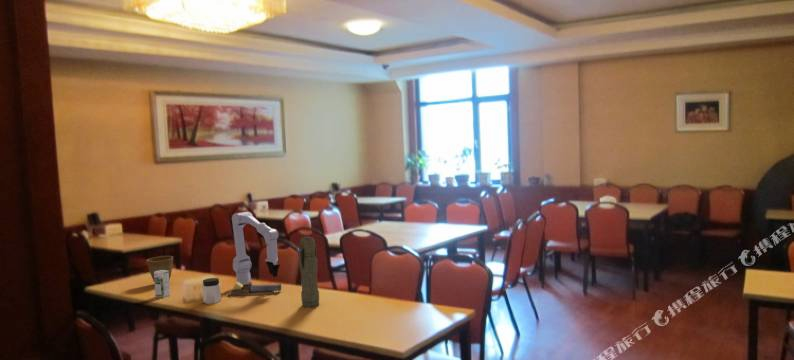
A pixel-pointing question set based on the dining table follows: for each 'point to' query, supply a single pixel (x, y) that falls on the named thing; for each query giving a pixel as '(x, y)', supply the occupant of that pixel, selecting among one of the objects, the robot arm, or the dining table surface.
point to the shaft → (264, 287)
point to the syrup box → (162, 283)
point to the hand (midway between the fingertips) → (273, 275)
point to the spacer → (237, 286)
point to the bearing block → (245, 291)
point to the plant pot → (160, 264)
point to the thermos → (308, 272)
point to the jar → (211, 291)
